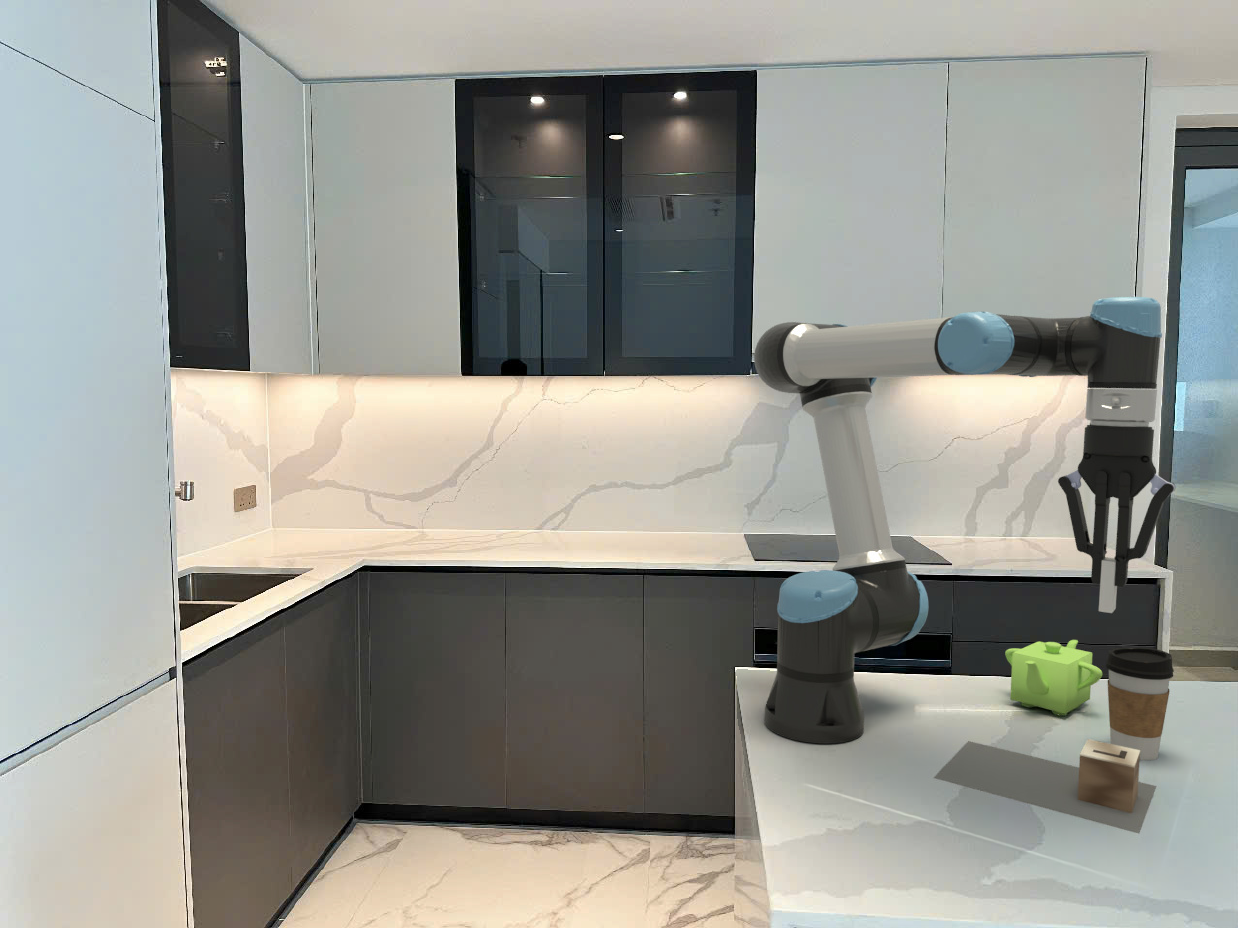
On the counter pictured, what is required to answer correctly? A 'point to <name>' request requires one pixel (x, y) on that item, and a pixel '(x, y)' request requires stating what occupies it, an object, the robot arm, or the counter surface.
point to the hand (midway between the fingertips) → (1107, 609)
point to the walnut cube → (1109, 775)
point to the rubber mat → (1037, 784)
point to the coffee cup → (1138, 698)
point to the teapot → (1052, 676)
